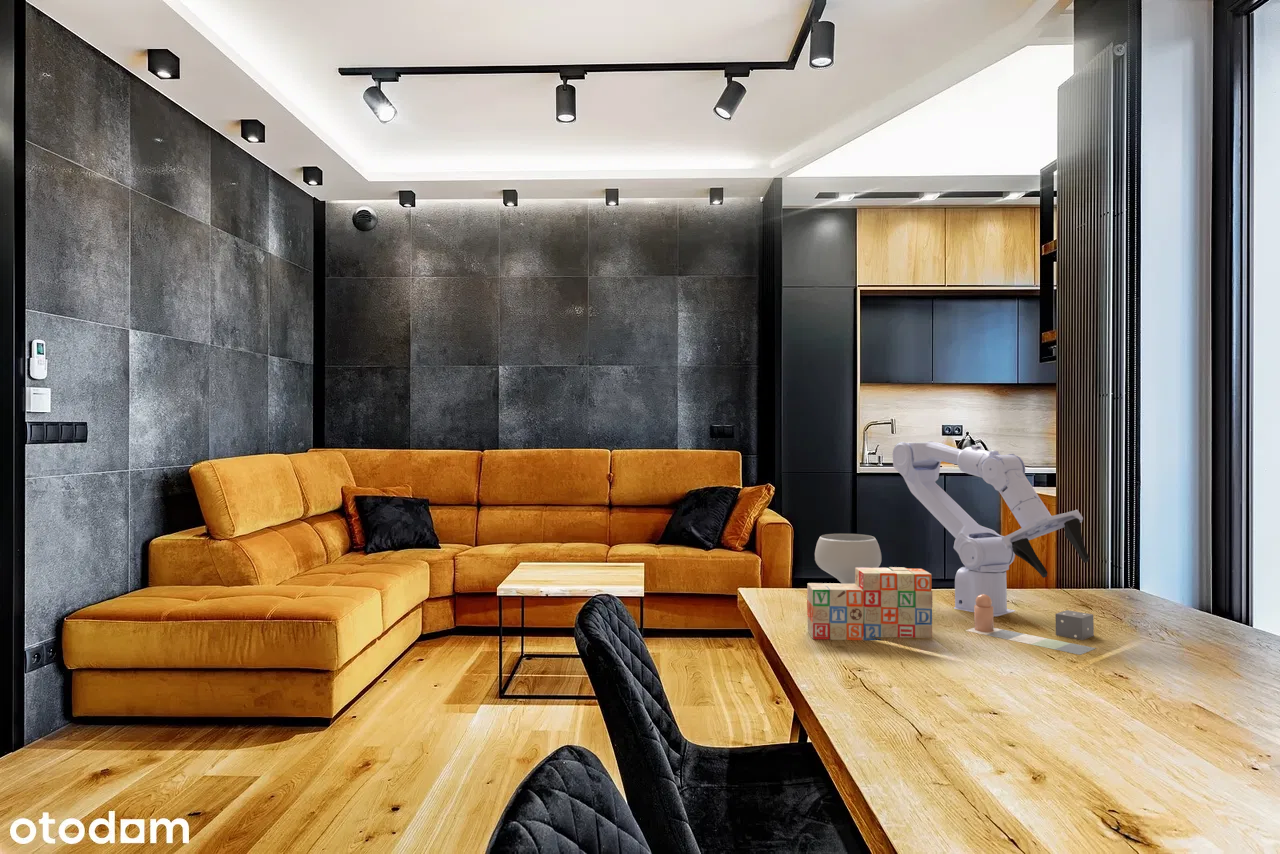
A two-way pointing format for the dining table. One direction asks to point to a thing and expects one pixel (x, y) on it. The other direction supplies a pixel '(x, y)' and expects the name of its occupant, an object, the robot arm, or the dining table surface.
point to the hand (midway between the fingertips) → (1066, 567)
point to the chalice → (847, 555)
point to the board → (1036, 641)
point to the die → (1074, 624)
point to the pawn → (983, 614)
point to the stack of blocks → (872, 605)
